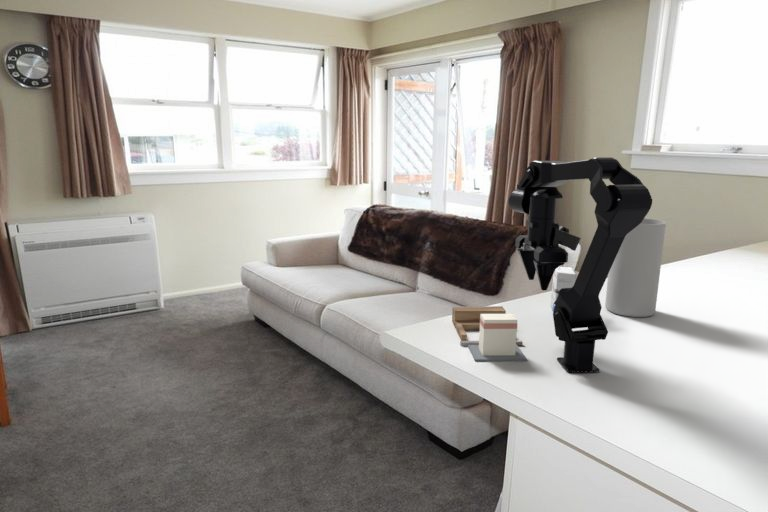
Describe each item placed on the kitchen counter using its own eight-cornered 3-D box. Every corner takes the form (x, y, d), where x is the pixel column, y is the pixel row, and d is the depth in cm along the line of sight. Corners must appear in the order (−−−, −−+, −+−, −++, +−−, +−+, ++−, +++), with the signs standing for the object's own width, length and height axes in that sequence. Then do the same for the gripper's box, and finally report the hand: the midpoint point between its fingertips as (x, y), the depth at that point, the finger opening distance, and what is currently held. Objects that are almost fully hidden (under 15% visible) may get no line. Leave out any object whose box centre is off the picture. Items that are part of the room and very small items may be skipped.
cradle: (522, 345, 115) (523, 328, 115) (461, 345, 115) (461, 329, 114) (503, 321, 132) (504, 306, 131) (449, 321, 131) (450, 306, 130)
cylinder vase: (653, 307, 143) (664, 219, 138) (656, 320, 132) (667, 225, 127) (605, 302, 148) (613, 216, 143) (604, 314, 137) (613, 222, 132)
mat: (527, 360, 107) (527, 358, 107) (475, 361, 107) (475, 359, 107) (516, 346, 115) (516, 344, 115) (468, 346, 115) (468, 344, 114)
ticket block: (515, 355, 109) (517, 319, 107) (482, 355, 109) (484, 319, 107) (510, 347, 113) (512, 313, 111) (478, 348, 113) (480, 313, 111)
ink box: (573, 316, 135) (576, 273, 133) (553, 315, 136) (556, 272, 134) (568, 307, 143) (571, 266, 141) (550, 306, 144) (553, 265, 142)
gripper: (595, 223, 105) (589, 296, 108) (562, 212, 123) (557, 274, 127) (542, 223, 105) (537, 296, 108) (516, 212, 123) (512, 274, 126)
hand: (537, 284), depth 117 cm, fingers open, 9 cm apart
